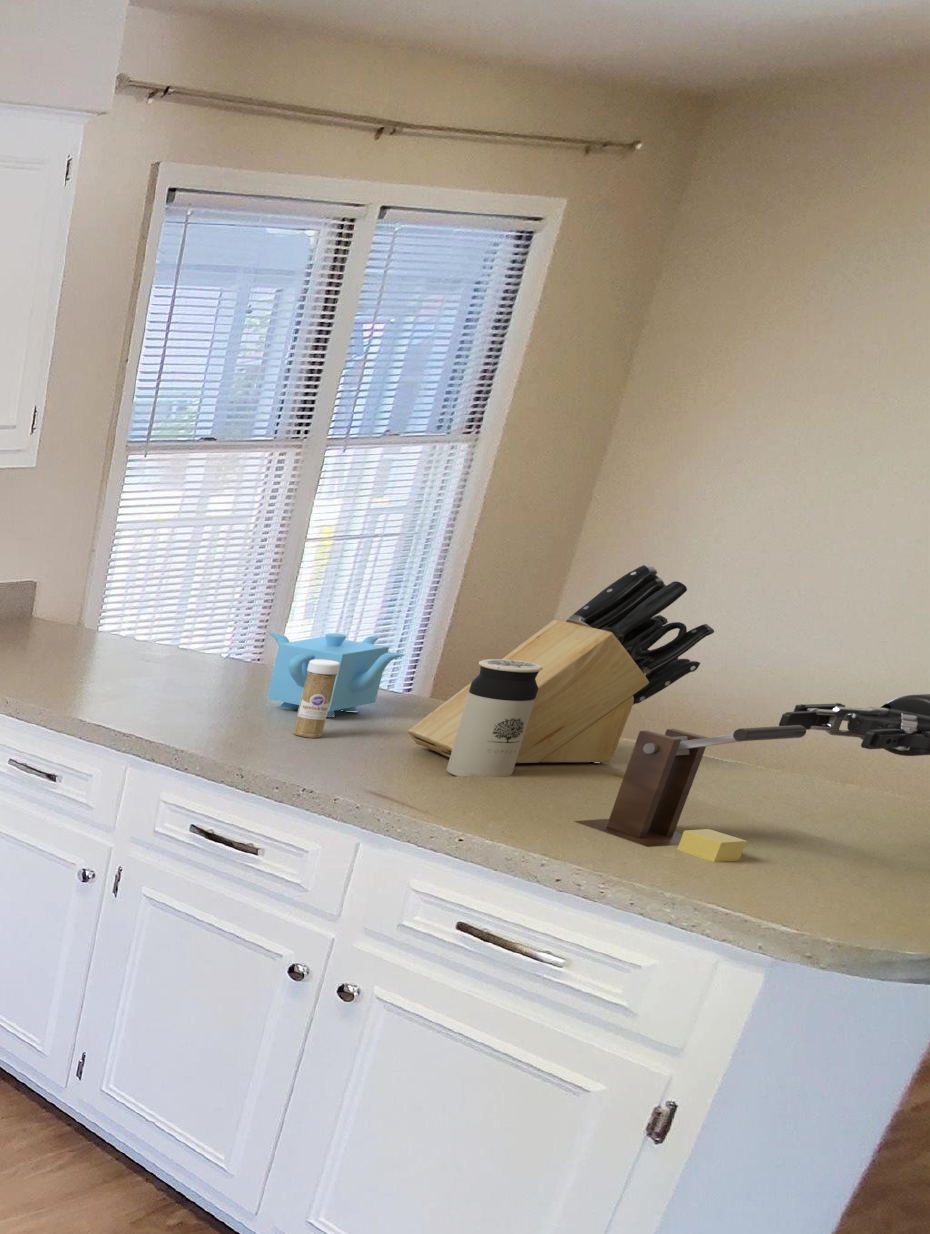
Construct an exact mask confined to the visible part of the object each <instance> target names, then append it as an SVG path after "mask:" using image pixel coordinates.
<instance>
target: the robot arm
mask: <svg viewBox="0 0 930 1234" xmlns="http://www.w3.org/2000/svg"><path fill="white" fill-rule="evenodd" d="M842 722H847V726H846V727H847V728H846V730H845V729H840V728H841V725H842V724H843V723H842ZM791 725H801V726H804V727H805V728H806V731H810V730H812V731H813V730H814V731H823V732H824V731H825V733H827V734H829V735H831V736H836V737H837V736H838V737H848V738H849V737H850V738H858V739H860V740H862V742H861V744H860V747H861V748H862V749H866V750H882V749H883V750H885V751H887V752H889V753H891V754H894V755H897V756H902V757H919V756H922V757H923V756H930V693H925V694H923V693H922V694H908V695H903V696H899V697H895V698H893V699H891V700H889V701H888V702H886V703H884V704H883V705H882V706H879V707H877V706H870V707H866V708H864V707H863V708H862V707H851V706H850V707H849V706H846V705H845V704H842V703H840V702H836V703H813V704H812V703H810V704H802V703H801V704H795V707H794V709H793V711H787V712H785V713H782V715H781V717H780V720H779V723H778V726H791Z"/></svg>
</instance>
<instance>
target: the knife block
mask: <svg viewBox="0 0 930 1234" xmlns="http://www.w3.org/2000/svg"><path fill="white" fill-rule="evenodd" d="M657 574H658V570H657V569H656V568H655V567H654V566H652V565H651V564H650V563H645V564H643V565H641V566H639V567H637V568H635V569H633V570H631V571H629V572H628V573H626V574H624V575H623V576H621V577H620V578H618V579H616V580H615V581H613V582H612V583H611V584H609V585H608V586H606V587H605V588H604V589H602V590H601V591H599V593H597V594H596V595H595V596H594V597H593V598H591V599H590V600H589V601H588V602H586V604H584V605H583V606H582V607H580V608H579V609H578V610H576V611H575V612H573V614H571V616H569V617H568V618H567V619H566V620H560V619H554V620H551V621H550V622H549V623H548V624H546V625H545V626H544V627H542V628H541V629H540V630H539V631H537V632H536V633H534V634H533V635H532V636H531V637H529V638H528V639H526V640H525V641H524V642H522V643H521V644H520V645H519V646H517V647H516V648H514V649H513V650H512V651H511V652H509V653H508V654H507V655H505V656H504V657H503V658H502V659H505V660H516V661H524V662H530V663H534V664H538V665H540V666H542V670H541V671H539V673H538V674H537V676H536V678H535V680H536V683H537V686H538V692H537V695H536V698H535V701H534V704H533V708H532V711H531V714H530V717H529V721H528V724H527V727H526V730H525V734H524V737H523V740H522V743H521V747H520V750H519V753H518V756H517V760H516V763H515V764H534V763H535V764H536V763H537V764H538V763H590V762H601V763H610V762H611V761H612V760H613V758H614V755H615V752H616V749H617V747H618V745H619V742H620V740H621V737H622V734H623V732H624V729H625V728H626V727H625V726H626V723H627V722H628V718H629V716H630V714H631V711H632V708H633V706H635V705H638V704H640V703H642V702H643V701H646V700H647V699H649V698H651V697H653V696H654V695H656V694H657V693H659V692H661V691H663V690H665V689H666V688H668V687H670V686H671V685H672V684H674V683H675V682H677V681H678V680H680V679H681V678H683V677H684V676H686V675H688V674H690V673H693V672H696V671H697V670H698V668H700V665H701V662H700V661H697V660H690V659H689V658H679V657H681V656H682V655H684V654H685V653H686V652H688V651H689V650H690V649H692V648H693V647H694V646H695V645H697V644H698V643H699V642H700V641H702V640H703V639H704V638H706V637H707V636H710V635H713V634H714V633H715V629H714V628H712V627H711V626H710V625H709V624H708V623H704V624H701V625H698V626H695V627H694V628H692V629H690V630H687V625H685V623H683V622H680V621H678V622H677V621H673V622H668V621H669V620H668V618H667V617H665V616H664V615H662V614H660V613H661V612H662V611H664V610H665V609H667V608H668V607H669V606H671V605H672V604H674V603H675V602H676V601H678V599H680V598H681V597H682V596H683V595H684V594H686V592H687V591H688V588H687V585H685V584H684V583H682V582H680V581H672V582H670V583H668V584H666V583H665V582H664V580H663V579H662V578H661V577H659V576H658V575H657ZM676 629H679V630H678V633H677V635H676V636H675V637H674V638H673V639H672V640H671V641H669V642H667V643H666V644H663V645H661V646H659V647H657V648H654V649H650V648H651V647H653V645H655V644H656V643H657V642H658V641H660V639H662V638H663V637H664V636H665V635H666V634H668V633H669V632H670V631H673V630H676ZM470 686H471V682H470V683H468V684H467V685H466V686H464V687H463V688H462V689H461V690H459V691H458V692H457V693H455V694H454V695H452V696H451V697H450V698H449V699H447V700H446V701H445V702H444V703H442V704H441V705H440V706H438V707H437V708H435V710H433V711H432V712H430V713H429V714H428V715H426V716H425V717H424V718H423V719H421V720H420V721H419V722H417V723H416V724H415V725H413V726H411V728H409V729H408V730H407V733H408V735H409V736H410V737H411V738H412V740H413V741H414V743H415V744H416V745H418V746H422V747H424V748H426V749H428V750H430V751H434V752H436V753H439V754H441V755H442V756H444V757H447V758H448V759H450V756H451V752H452V749H453V745H454V742H455V738H456V735H457V731H458V728H459V724H460V721H461V717H462V714H463V710H464V707H465V703H466V700H467V696H468V693H469V689H470Z"/></svg>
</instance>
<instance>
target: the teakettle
mask: <svg viewBox="0 0 930 1234" xmlns="http://www.w3.org/2000/svg"><path fill="white" fill-rule="evenodd" d="M268 635H270V636H271V637H273V638H274V640H275V641H276V642H277V645H278V647H277V650H276V656H275V660H274V664H273V668H272V669H273V670H272V674H271V678H270V683H269V688H268V692H267V697H266V698H267V699H269V700H273V701H278V702H283V703H282V704H281V705H279V706H278V708H279V709H283V710H287V711H288V710H290V711H294V710H295V711H296V710H298V709H299V704H300V700H301V696H302V692H303V688H304V686H305V682H306V678H307V672H308V671H307V668H308V664H309V661H311V660H315V659H323V660H332V661H336V662H339V663H340V667H339V672H338V674H337V676H336V679H335V683H334V687H333V693H332V697H331V701H330V705H329V709H328V713H327V717H333V716H335V717H336V715H335V714H336V713H335V711H338V710H339V711H340V710H343V711H358V709H357V707H360V706H364V705H369V704H374V703H376V701H377V697H378V692H379V689H380V685H381V681H382V678H383V673H384V671H385V669H386V668H387V666H388V665H389V664H390V663H391V661H393V660H395V659H397V658H401V657H405V656H406V654H405V653H400V652H399V653H398V652H389V649H390V647H389V646H387V645H380V644H375V643H376V642H377V640H379V639H380V636H378V635H372V636H368V637H365V638H364V639H363V640H362V641H356V640H348V639H347V637H348V635H346V634H343V633H337V632H333V633H332V632H329V633H325V634H324V636H319V637H314V638H313V637H312V638H307V639H301V640H294V641H290V640H289V638H288V637H287V636H286V635H284V634H280V633H275V632H269V633H268Z"/></svg>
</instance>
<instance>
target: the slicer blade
mask: <svg viewBox="0 0 930 1234" xmlns="http://www.w3.org/2000/svg"><path fill="white" fill-rule="evenodd" d="M806 734H807V730H806V728H805V727H804V726H801V725H791V726H779V725H776V726H760V727H757V726H756V727H741V728H737V729H735V730H734V731H733V733H730V734H723V735H717V736H710V737H709V738H702V739H695V740H688V738H687V736H682V737H674V738H678V739H681V742H680V744H679V747H678V750H677V753H676V756H681V755H689V754H690V753H689V749H691V748H698V747H705V746H706V747H711V746H717V745H718V746H719V745H727V744H733V743H740V742H753V741H768V740H769V741H771V740H786V739H787V740H788V739H801V738H803V737H804V736H806Z"/></svg>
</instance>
